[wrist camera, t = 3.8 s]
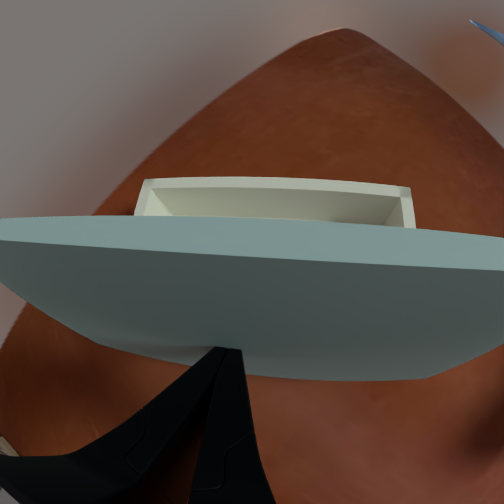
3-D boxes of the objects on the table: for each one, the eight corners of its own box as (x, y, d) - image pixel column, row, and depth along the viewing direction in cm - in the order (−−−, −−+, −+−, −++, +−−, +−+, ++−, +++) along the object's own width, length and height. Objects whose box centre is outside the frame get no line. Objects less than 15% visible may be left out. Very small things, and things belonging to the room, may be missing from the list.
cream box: (389, 365, 17) (417, 368, 13) (145, 341, 20) (108, 337, 16) (389, 220, 21) (410, 187, 16) (169, 210, 24) (144, 179, 19)
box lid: (425, 367, 12) (425, 378, 12) (100, 334, 15) (98, 344, 15) (593, 252, 3) (601, 275, 2) (-47, 221, 6) (-54, 235, 5)
